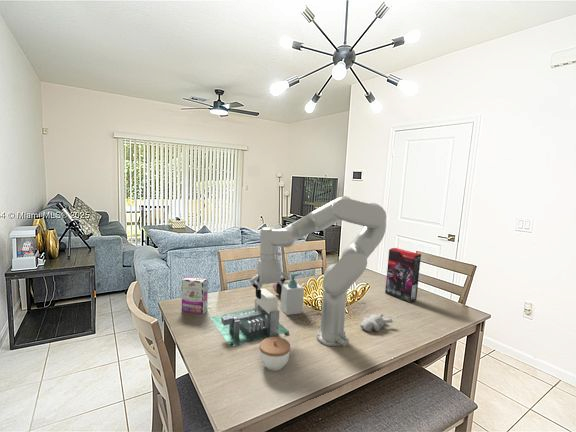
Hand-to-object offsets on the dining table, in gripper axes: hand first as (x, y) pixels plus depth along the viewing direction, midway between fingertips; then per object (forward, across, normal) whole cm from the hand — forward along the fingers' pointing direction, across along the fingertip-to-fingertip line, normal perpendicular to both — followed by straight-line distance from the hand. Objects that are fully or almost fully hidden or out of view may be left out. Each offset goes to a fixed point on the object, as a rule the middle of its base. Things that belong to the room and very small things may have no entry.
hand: (268, 295), depth 129 cm
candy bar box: (+14, +24, -30) cm, 41 cm away
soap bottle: (+16, -19, -12) cm, 27 cm away
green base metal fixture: (+15, +7, -6) cm, 18 cm away
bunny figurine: (+17, -44, +19) cm, 51 cm away
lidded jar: (+16, +10, +23) cm, 30 cm away
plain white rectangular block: (+5, +1, -1) cm, 5 cm away
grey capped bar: (+8, +9, -1) cm, 13 cm away
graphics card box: (+18, -86, 0) cm, 88 cm away
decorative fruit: (+15, -24, -31) cm, 42 cm away
